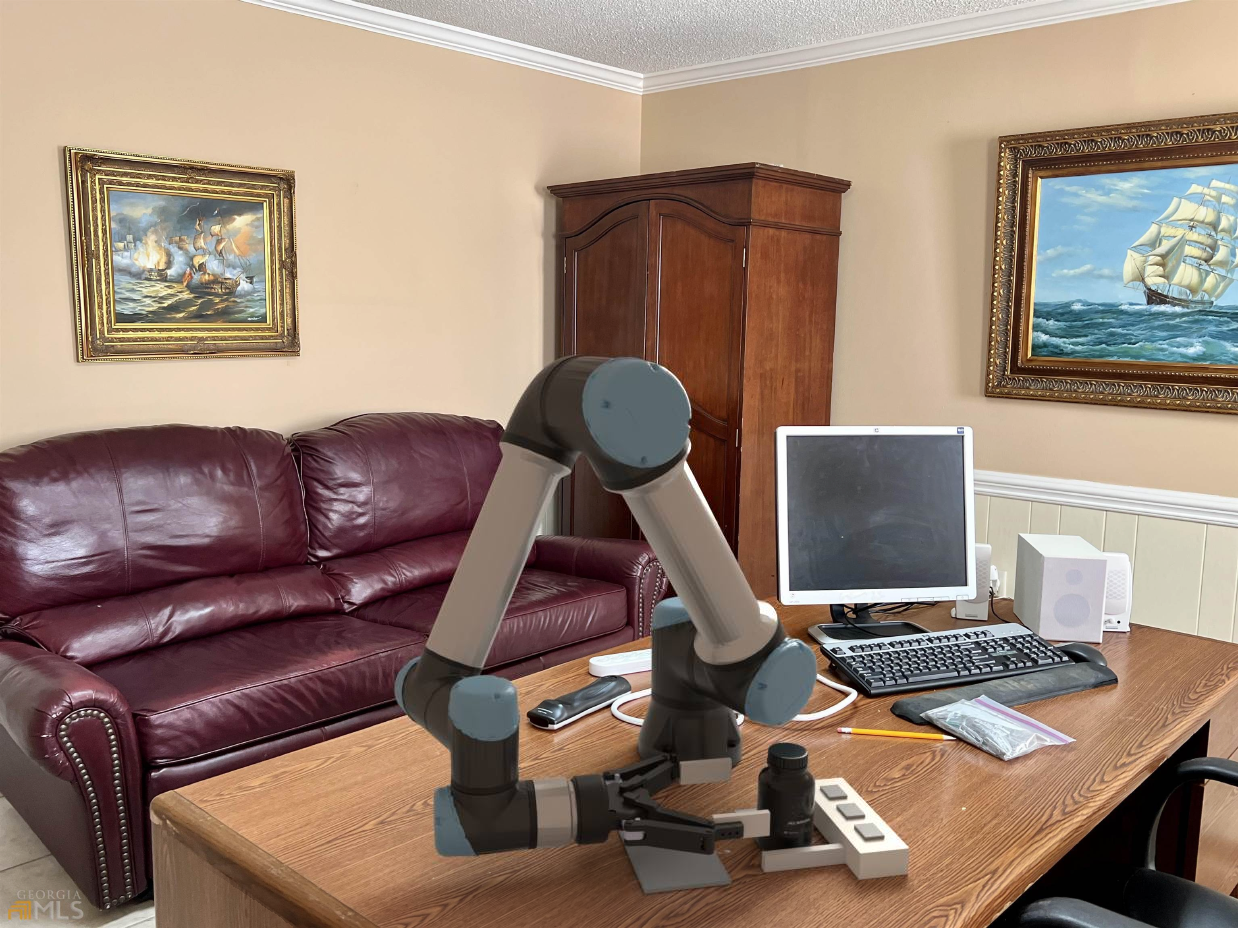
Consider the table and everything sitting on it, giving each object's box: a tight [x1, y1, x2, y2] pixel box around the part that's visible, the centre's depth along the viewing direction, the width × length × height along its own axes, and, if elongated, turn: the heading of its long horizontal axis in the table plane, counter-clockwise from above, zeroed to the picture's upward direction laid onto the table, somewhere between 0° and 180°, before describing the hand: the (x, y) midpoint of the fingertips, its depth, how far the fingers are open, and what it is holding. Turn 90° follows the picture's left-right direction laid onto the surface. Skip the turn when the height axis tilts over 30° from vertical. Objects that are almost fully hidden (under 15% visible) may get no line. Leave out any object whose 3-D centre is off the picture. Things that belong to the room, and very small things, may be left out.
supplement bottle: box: [755, 742, 816, 852], centre depth 120 cm, size 7×7×12 cm
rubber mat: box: [617, 830, 732, 895], centre depth 118 cm, size 14×10×1 cm
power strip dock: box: [733, 777, 910, 881], centre depth 121 cm, size 18×16×4 cm
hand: (749, 794), depth 118 cm, fingers open, 13 cm apart
